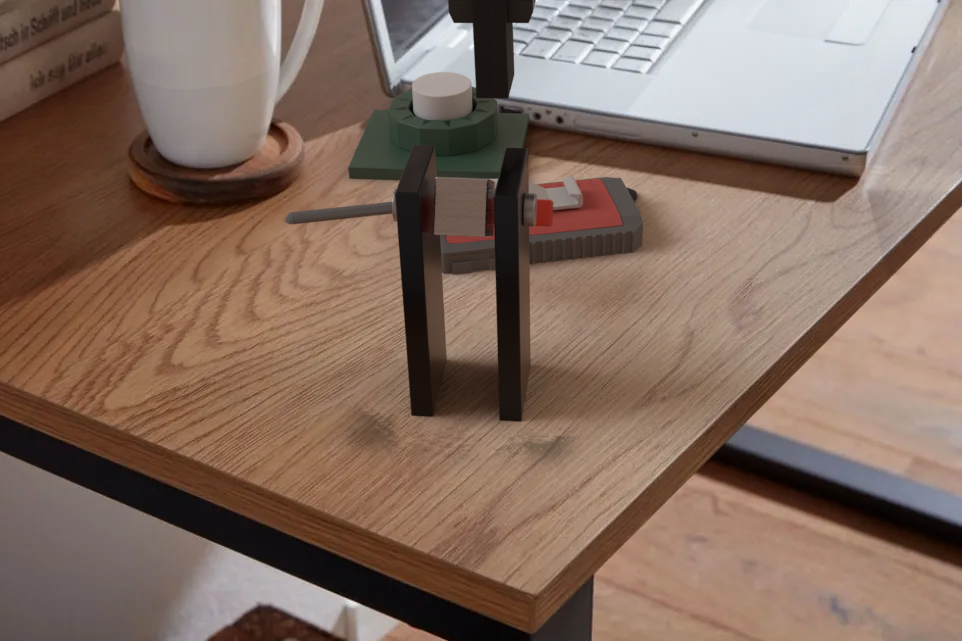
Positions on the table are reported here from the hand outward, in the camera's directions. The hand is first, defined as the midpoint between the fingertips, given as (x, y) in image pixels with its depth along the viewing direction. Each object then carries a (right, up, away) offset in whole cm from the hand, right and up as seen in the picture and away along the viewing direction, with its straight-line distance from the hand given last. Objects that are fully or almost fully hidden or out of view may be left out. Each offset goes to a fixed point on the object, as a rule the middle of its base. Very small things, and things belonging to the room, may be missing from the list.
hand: (495, 85), depth 63 cm
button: (-3, +2, +19) cm, 19 cm away
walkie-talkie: (-1, -7, +12) cm, 14 cm away
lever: (-1, -7, -2) cm, 7 cm away
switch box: (-3, -2, +20) cm, 20 cm away
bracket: (-1, -15, 0) cm, 15 cm away
